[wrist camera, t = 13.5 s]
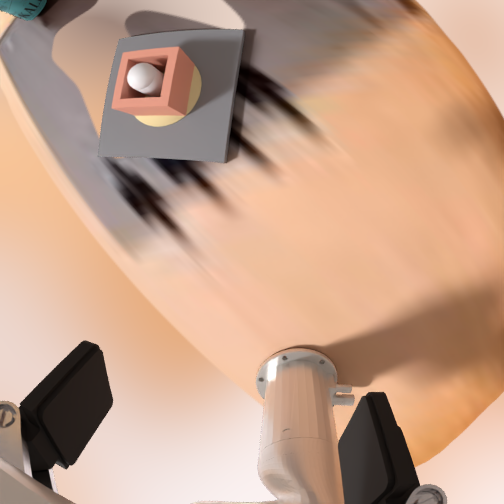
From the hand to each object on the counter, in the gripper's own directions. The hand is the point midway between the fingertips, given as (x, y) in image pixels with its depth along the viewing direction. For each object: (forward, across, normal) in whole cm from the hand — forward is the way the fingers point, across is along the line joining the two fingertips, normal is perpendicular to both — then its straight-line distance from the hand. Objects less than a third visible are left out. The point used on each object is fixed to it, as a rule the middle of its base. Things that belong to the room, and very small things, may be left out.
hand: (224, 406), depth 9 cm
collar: (+26, +15, -17) cm, 35 cm away
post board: (+28, +15, -17) cm, 36 cm away
